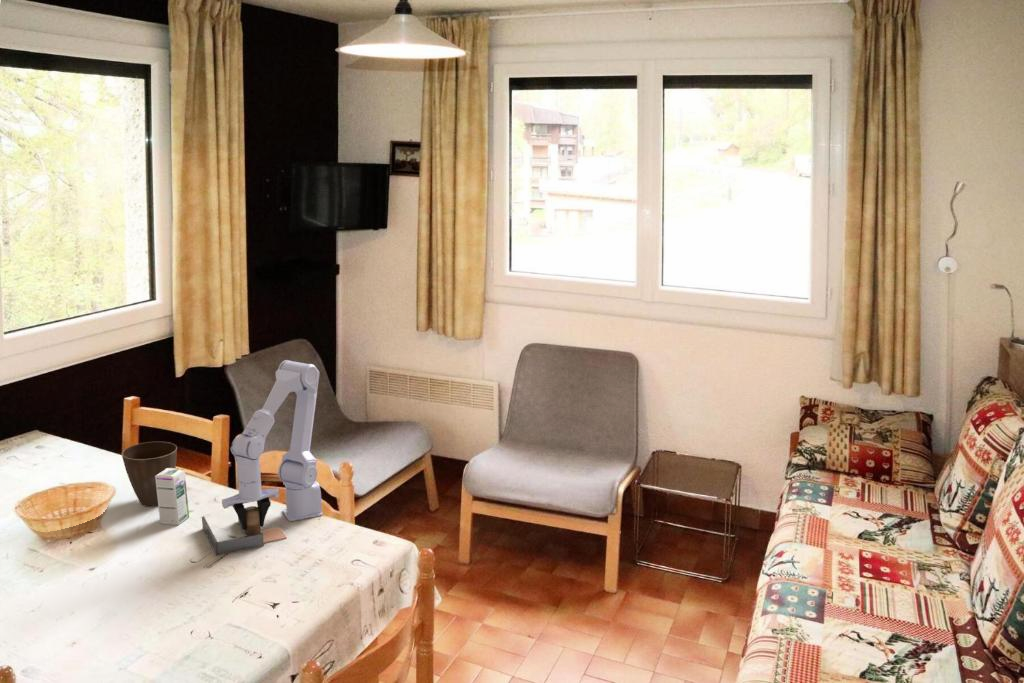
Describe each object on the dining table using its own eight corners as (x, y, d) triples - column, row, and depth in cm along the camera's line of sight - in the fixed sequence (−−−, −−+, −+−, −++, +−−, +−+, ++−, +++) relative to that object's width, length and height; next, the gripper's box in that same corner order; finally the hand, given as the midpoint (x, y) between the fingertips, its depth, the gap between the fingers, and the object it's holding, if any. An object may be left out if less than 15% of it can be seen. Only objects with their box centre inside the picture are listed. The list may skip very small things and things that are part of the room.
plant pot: (118, 500, 274) (113, 449, 270) (168, 487, 284) (164, 437, 280) (138, 517, 264) (133, 463, 260) (190, 502, 273) (185, 450, 269)
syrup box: (178, 525, 258) (174, 476, 255) (159, 523, 259) (154, 474, 256) (189, 517, 264) (185, 468, 260) (170, 515, 265) (166, 467, 261)
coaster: (279, 528, 257) (279, 527, 257) (286, 538, 251) (286, 537, 251) (253, 533, 254) (253, 532, 254) (260, 544, 248) (260, 542, 248)
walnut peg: (262, 534, 249) (261, 510, 248) (247, 538, 247) (246, 513, 246) (258, 529, 253) (256, 505, 251) (243, 532, 251) (241, 508, 249)
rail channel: (247, 519, 262) (246, 508, 261) (263, 546, 247) (263, 533, 246) (202, 528, 257) (201, 516, 256) (216, 555, 241) (215, 543, 240)
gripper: (272, 469, 253) (274, 515, 257) (217, 479, 246) (221, 527, 249) (280, 477, 247) (283, 525, 251) (224, 488, 240) (228, 537, 243)
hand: (252, 527), depth 250 cm, fingers closed on walnut peg, 4 cm apart
